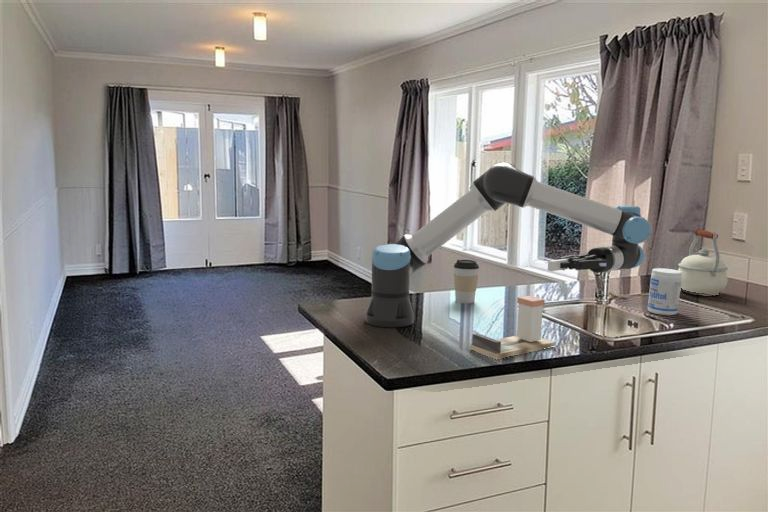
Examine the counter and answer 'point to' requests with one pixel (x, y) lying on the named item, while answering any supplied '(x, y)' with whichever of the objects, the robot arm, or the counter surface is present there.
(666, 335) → the counter surface
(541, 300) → the block
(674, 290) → the supplement tub
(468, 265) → the coffee cup
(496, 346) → the board
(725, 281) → the kettle
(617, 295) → the tongs
